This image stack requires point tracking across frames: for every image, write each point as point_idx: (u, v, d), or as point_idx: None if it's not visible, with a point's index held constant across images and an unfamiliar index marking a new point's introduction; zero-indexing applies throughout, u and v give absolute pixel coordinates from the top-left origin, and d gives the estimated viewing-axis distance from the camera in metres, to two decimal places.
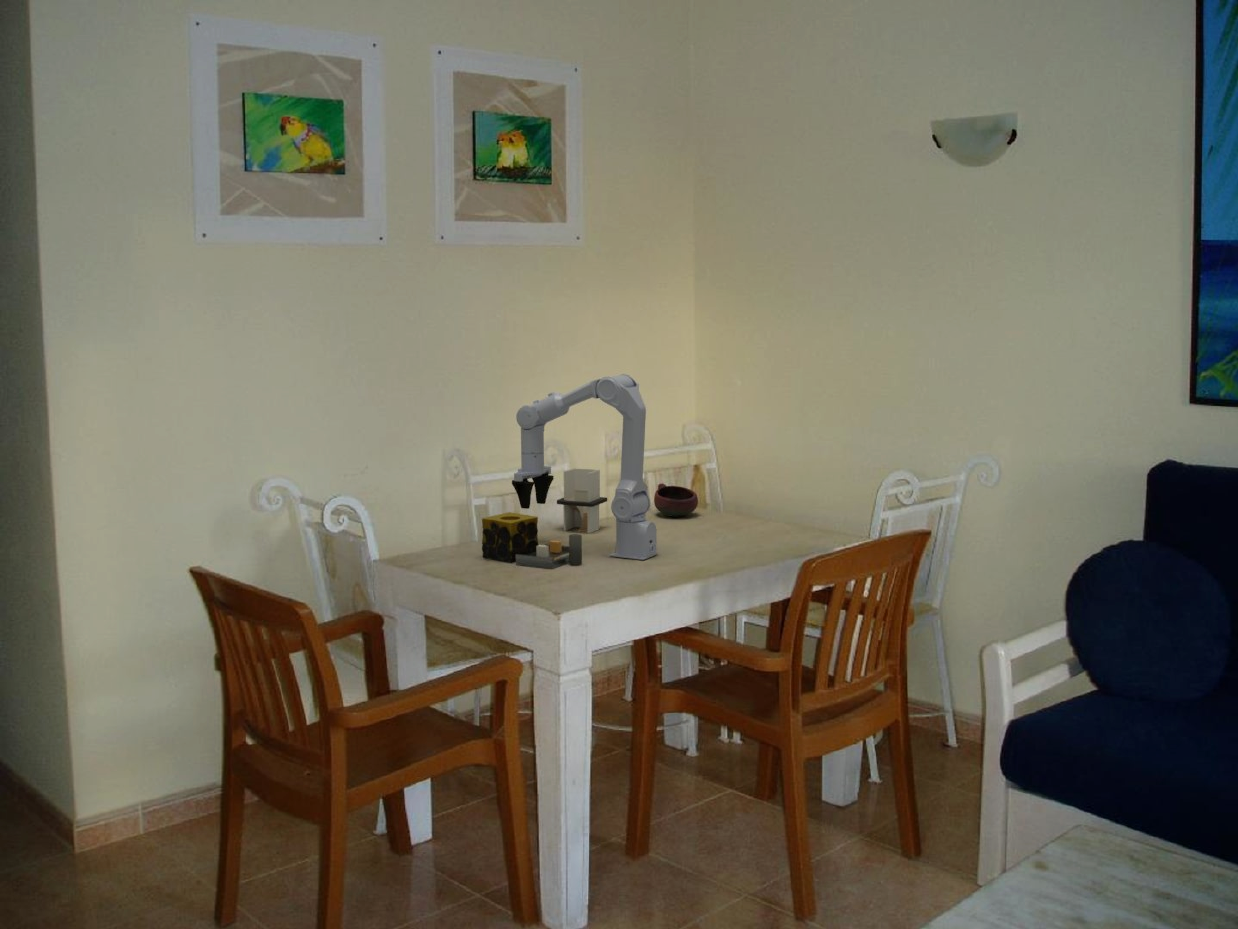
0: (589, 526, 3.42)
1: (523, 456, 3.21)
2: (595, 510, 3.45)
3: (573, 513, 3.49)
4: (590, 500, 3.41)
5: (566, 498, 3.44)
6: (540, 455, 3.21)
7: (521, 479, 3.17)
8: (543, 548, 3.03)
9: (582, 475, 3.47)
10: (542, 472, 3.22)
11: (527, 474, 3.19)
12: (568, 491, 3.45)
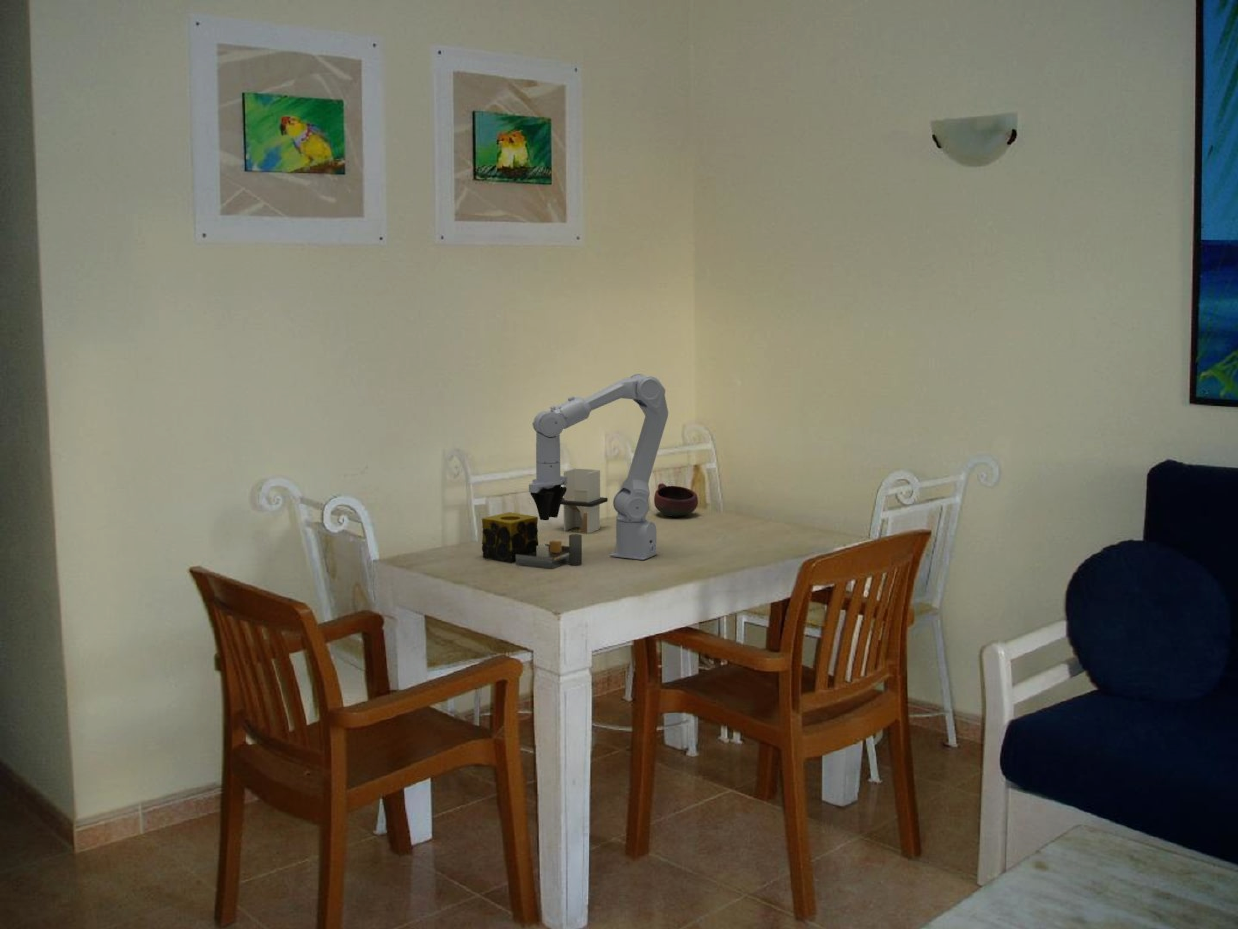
0: (589, 526, 3.41)
1: (538, 466, 3.02)
2: (595, 510, 3.45)
3: (573, 513, 3.49)
4: (590, 500, 3.41)
5: (566, 498, 3.44)
6: (556, 465, 3.02)
7: (536, 490, 2.98)
8: (543, 548, 3.03)
9: (583, 475, 3.47)
10: (558, 483, 3.03)
11: (543, 485, 2.99)
12: (568, 491, 3.45)
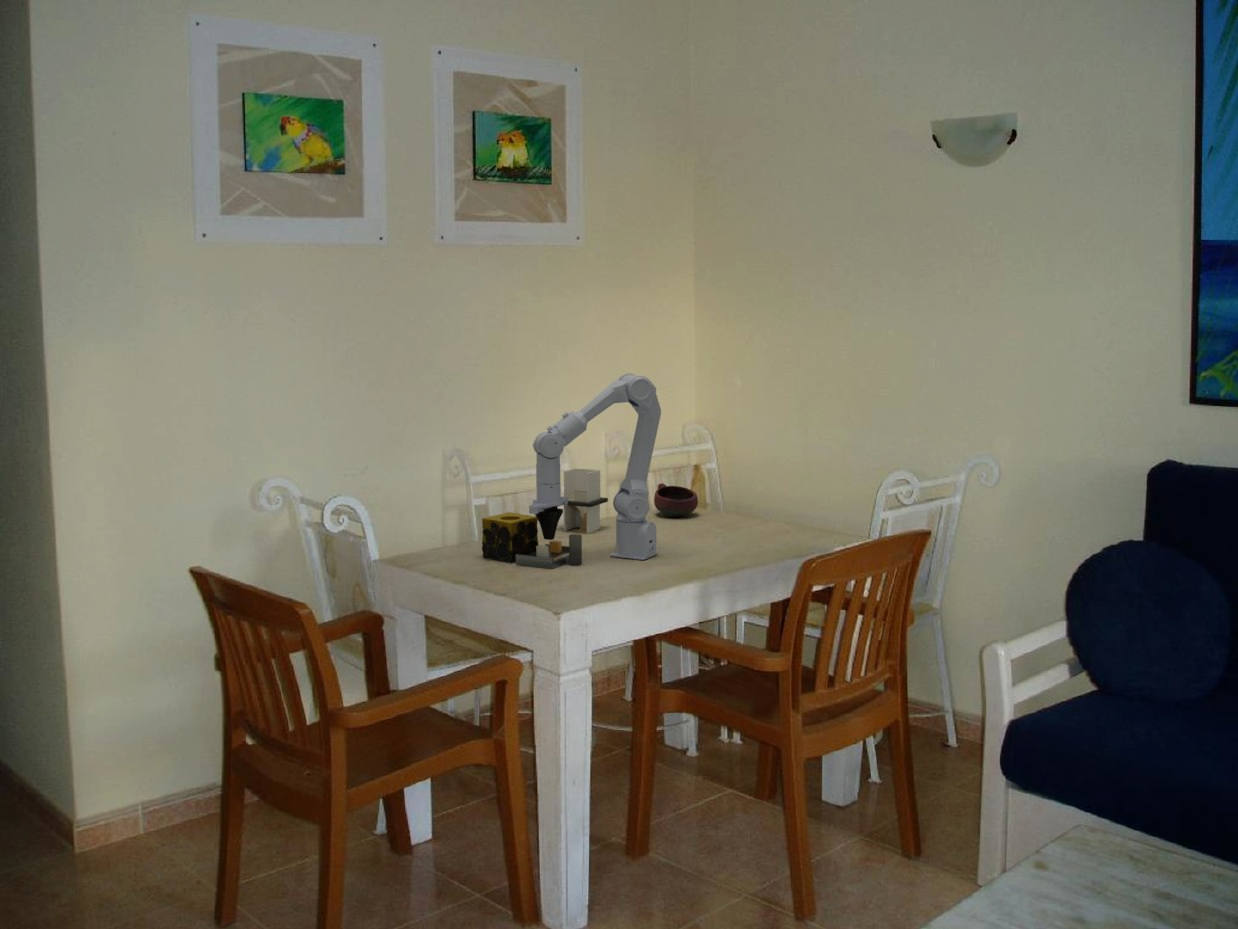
0: (588, 526, 3.41)
1: (538, 487, 3.03)
2: (595, 510, 3.44)
3: (573, 513, 3.49)
4: (589, 500, 3.41)
5: None
6: (556, 486, 3.03)
7: (537, 511, 2.99)
8: (543, 548, 3.03)
9: (583, 475, 3.47)
10: (559, 504, 3.03)
11: (543, 506, 3.00)
12: (568, 491, 3.45)
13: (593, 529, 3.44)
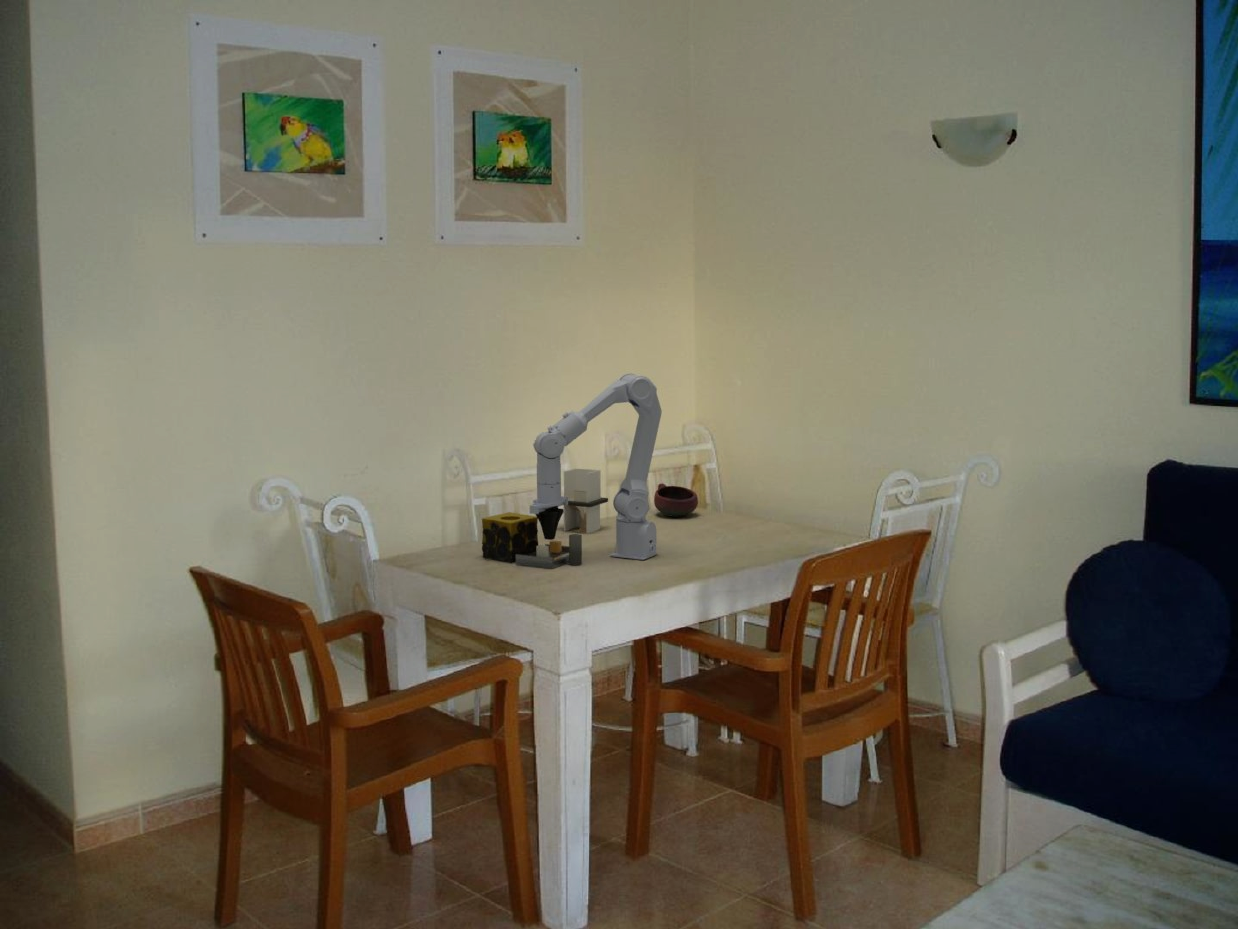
0: (588, 526, 3.41)
1: (539, 487, 3.03)
2: (595, 510, 3.44)
3: (574, 513, 3.49)
4: (589, 500, 3.41)
5: None
6: (557, 486, 3.03)
7: (537, 511, 2.99)
8: (543, 548, 3.03)
9: (583, 475, 3.47)
10: (559, 503, 3.04)
11: (543, 506, 3.00)
12: (568, 491, 3.45)
13: (593, 529, 3.44)
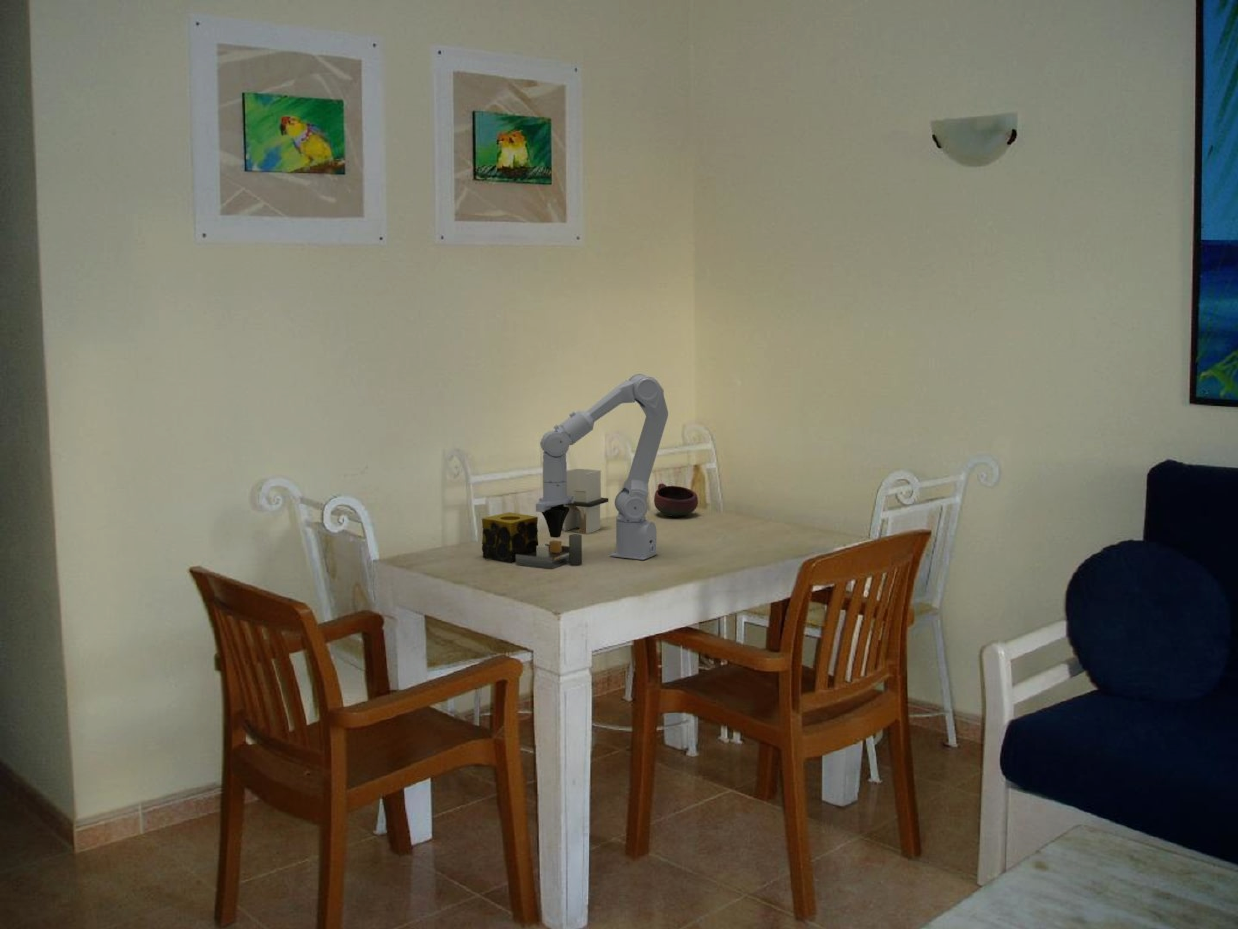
0: (588, 526, 3.41)
1: (545, 485, 3.05)
2: (595, 510, 3.44)
3: (574, 513, 3.49)
4: (589, 500, 3.40)
5: None
6: (563, 484, 3.05)
7: (543, 509, 3.01)
8: (543, 548, 3.03)
9: (584, 475, 3.47)
10: (565, 502, 3.06)
11: (549, 504, 3.03)
12: (569, 491, 3.45)
13: (593, 529, 3.44)
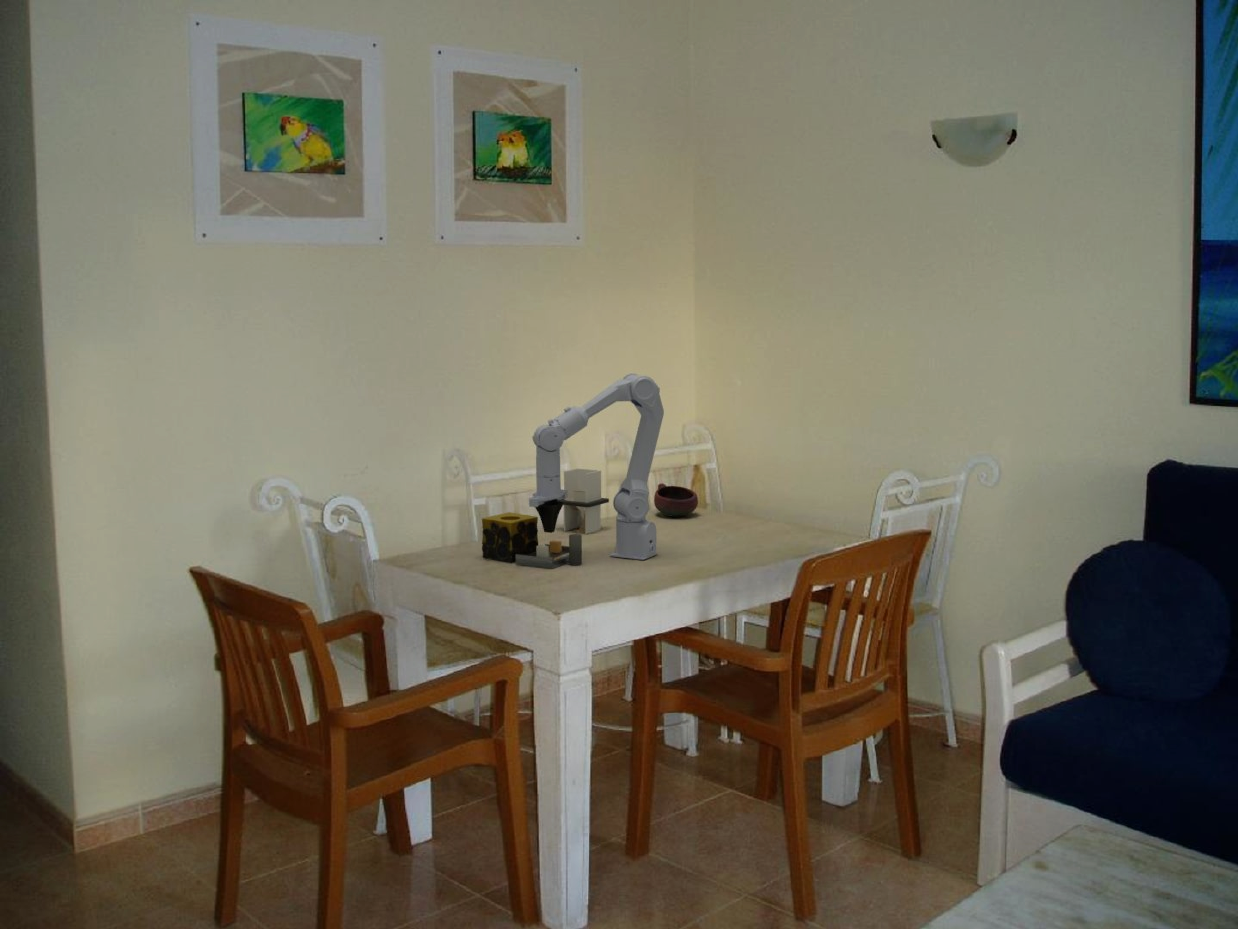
0: (587, 526, 3.41)
1: (538, 479, 3.02)
2: (595, 511, 3.44)
3: (575, 513, 3.48)
4: (588, 501, 3.40)
5: (567, 498, 3.44)
6: (556, 478, 3.02)
7: (537, 504, 2.98)
8: (543, 548, 3.03)
9: (585, 475, 3.47)
10: (559, 496, 3.03)
11: (543, 499, 3.00)
12: (569, 491, 3.45)
13: (593, 529, 3.43)
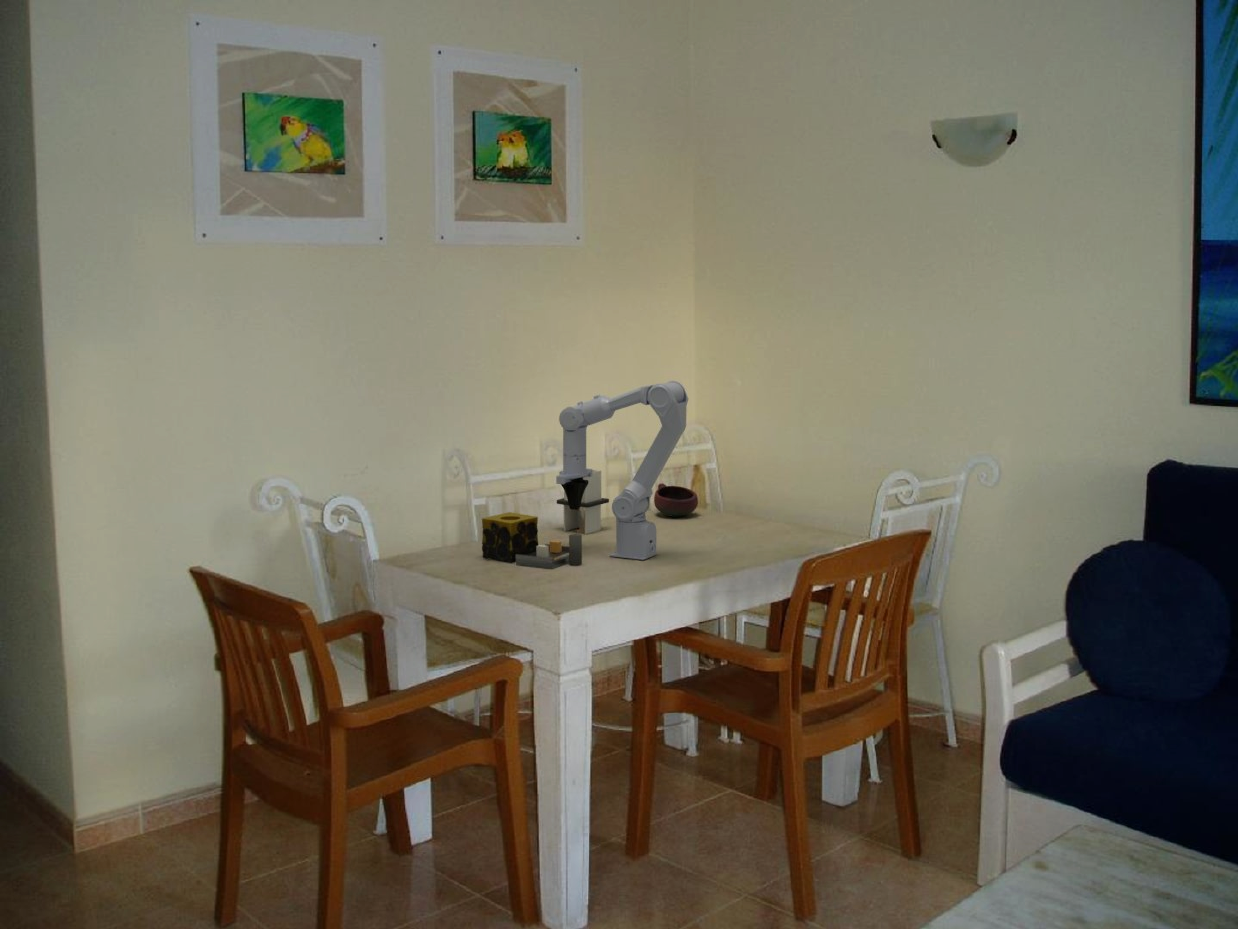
0: (586, 526, 3.41)
1: (565, 458, 3.15)
2: (595, 511, 3.43)
3: (575, 513, 3.48)
4: (588, 501, 3.40)
5: None
6: (583, 457, 3.14)
7: (564, 482, 3.11)
8: (543, 548, 3.03)
9: None
10: (584, 475, 3.15)
11: (569, 477, 3.12)
12: None
13: (592, 530, 3.43)
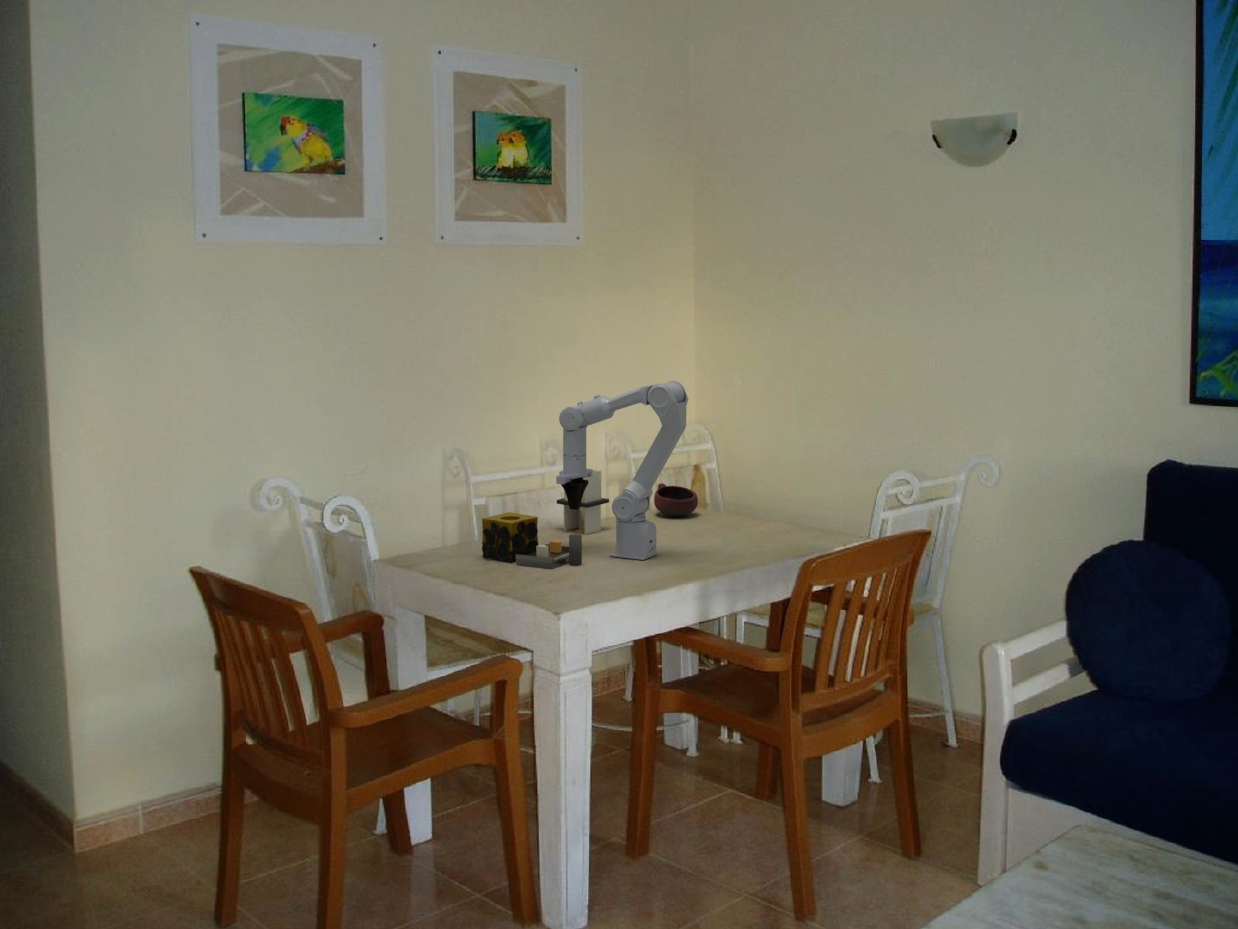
0: (586, 526, 3.40)
1: (565, 458, 3.15)
2: (595, 511, 3.43)
3: (576, 513, 3.48)
4: (588, 501, 3.40)
5: None
6: (583, 457, 3.14)
7: (564, 482, 3.11)
8: (543, 548, 3.03)
9: None
10: (584, 475, 3.15)
11: (569, 477, 3.12)
12: None
13: (592, 530, 3.43)
